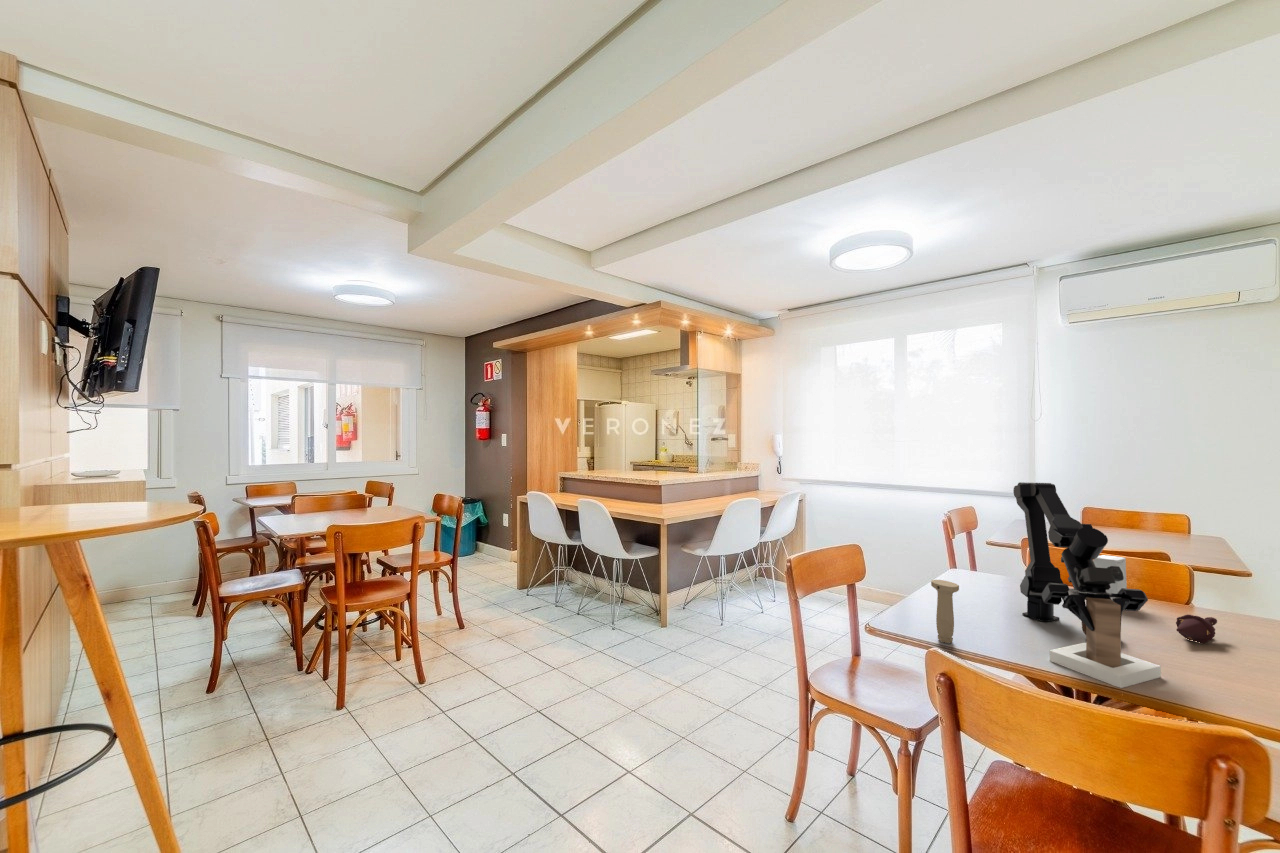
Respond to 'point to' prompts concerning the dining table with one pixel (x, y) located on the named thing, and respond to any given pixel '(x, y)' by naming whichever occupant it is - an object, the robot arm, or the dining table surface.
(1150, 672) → the socket block
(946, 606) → the handle
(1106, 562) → the skincare box
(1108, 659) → the peg
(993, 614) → the dining table surface
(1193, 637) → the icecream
